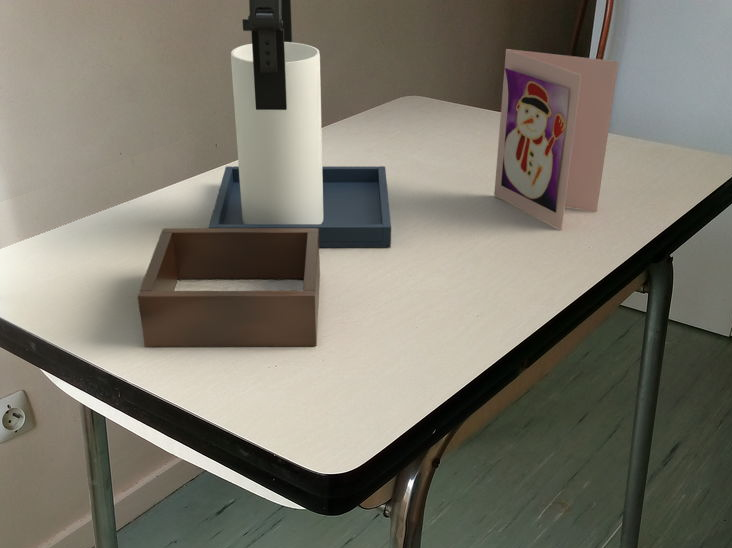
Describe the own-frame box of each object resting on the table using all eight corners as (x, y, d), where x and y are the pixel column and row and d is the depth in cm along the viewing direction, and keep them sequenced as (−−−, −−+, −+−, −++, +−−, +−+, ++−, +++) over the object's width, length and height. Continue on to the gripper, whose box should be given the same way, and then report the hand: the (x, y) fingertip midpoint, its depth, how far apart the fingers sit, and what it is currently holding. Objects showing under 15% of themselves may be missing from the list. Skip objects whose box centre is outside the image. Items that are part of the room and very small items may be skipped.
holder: (144, 347, 82) (137, 296, 79) (168, 274, 93) (162, 227, 90) (316, 346, 82) (315, 295, 79) (319, 274, 93) (318, 227, 91)
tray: (210, 247, 98) (208, 227, 97) (227, 185, 112) (225, 166, 111) (390, 247, 98) (391, 227, 97) (384, 185, 113) (385, 166, 111)
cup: (274, 241, 98) (265, 67, 88) (226, 217, 103) (213, 50, 93) (339, 221, 102) (337, 53, 93) (290, 198, 107) (283, 37, 98)
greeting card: (487, 196, 110) (499, 50, 101) (541, 184, 113) (556, 41, 104) (554, 231, 102) (573, 76, 93) (610, 218, 105) (633, 66, 96)
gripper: (304, -174, 72) (312, 128, 85) (313, -191, 92) (318, 55, 105) (199, -176, 72) (222, 127, 85) (231, -192, 92) (246, 55, 105)
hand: (275, 88), depth 95 cm, fingers open, 13 cm apart
